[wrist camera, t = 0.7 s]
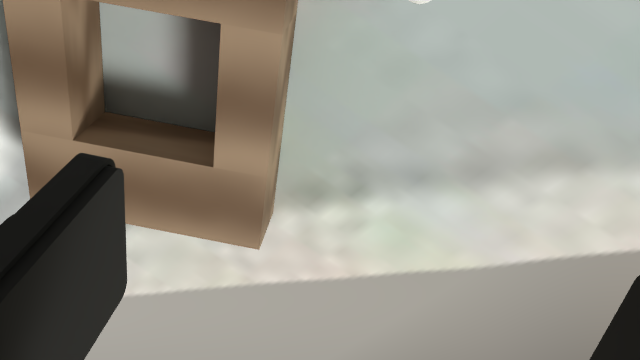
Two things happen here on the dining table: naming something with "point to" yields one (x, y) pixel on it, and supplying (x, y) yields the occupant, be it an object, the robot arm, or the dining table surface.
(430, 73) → the dining table surface
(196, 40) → the dining table surface
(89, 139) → the socket block
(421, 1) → the eye dropper bottle
